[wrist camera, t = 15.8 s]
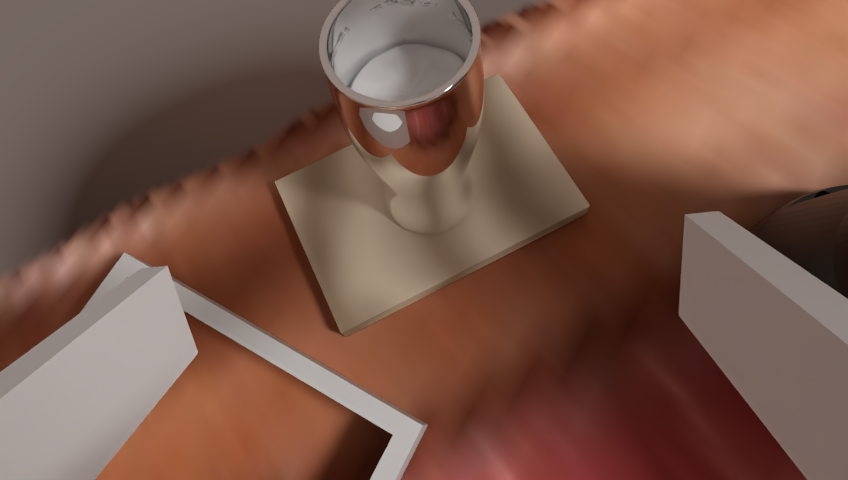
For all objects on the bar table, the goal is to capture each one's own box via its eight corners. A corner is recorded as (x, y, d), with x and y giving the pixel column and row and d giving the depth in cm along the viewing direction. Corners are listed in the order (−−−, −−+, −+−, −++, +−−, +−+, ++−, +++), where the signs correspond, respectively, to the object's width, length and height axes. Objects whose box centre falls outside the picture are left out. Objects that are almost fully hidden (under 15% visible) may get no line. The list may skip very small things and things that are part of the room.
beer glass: (498, 172, 34) (517, 1, 20) (449, 259, 32) (432, 139, 18) (410, 132, 36) (370, -52, 22) (359, 213, 34) (279, 70, 20)
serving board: (498, 85, 38) (498, 73, 37) (585, 214, 34) (590, 205, 33) (281, 190, 37) (274, 181, 36) (346, 337, 33) (340, 333, 32)
